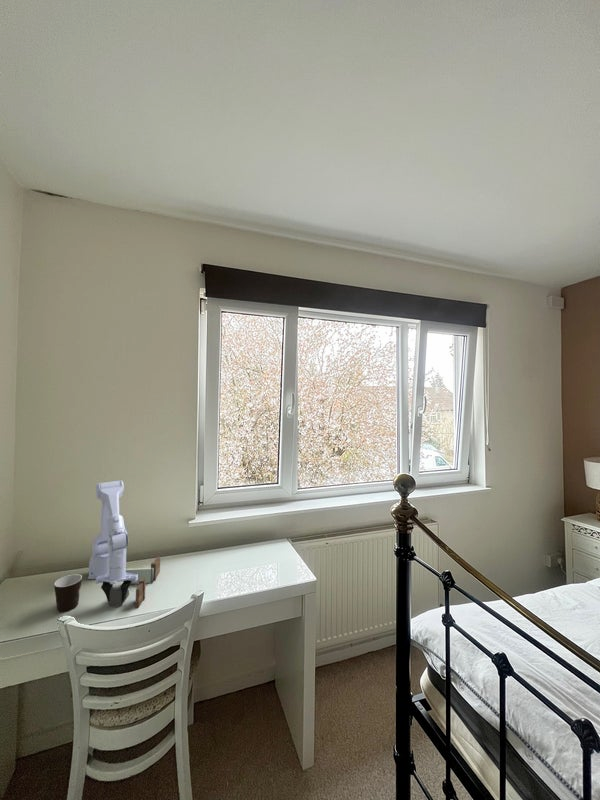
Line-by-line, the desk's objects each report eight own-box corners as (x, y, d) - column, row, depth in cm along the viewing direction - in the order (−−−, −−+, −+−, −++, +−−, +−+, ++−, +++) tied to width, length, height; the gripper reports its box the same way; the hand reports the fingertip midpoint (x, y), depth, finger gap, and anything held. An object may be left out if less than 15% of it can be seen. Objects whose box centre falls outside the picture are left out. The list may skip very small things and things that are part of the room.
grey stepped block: (121, 606, 122) (121, 590, 122) (109, 606, 121) (109, 590, 121) (129, 594, 129) (129, 580, 129) (117, 595, 128) (117, 580, 128)
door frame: (134, 607, 121) (134, 587, 121) (156, 571, 146) (156, 555, 146) (139, 607, 121) (140, 587, 121) (160, 571, 146) (161, 555, 146)
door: (153, 581, 138) (153, 567, 138) (152, 582, 137) (153, 568, 137) (126, 582, 137) (126, 568, 137) (125, 584, 136) (125, 569, 136)
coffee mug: (72, 614, 117) (73, 586, 117) (47, 614, 116) (48, 587, 116) (90, 594, 128) (91, 569, 128) (68, 595, 128) (68, 570, 128)
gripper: (91, 571, 118) (91, 608, 118) (133, 569, 120) (132, 605, 120) (101, 561, 125) (100, 596, 125) (140, 560, 127) (139, 594, 127)
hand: (116, 600), depth 123 cm, fingers closed on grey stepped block, 4 cm apart
